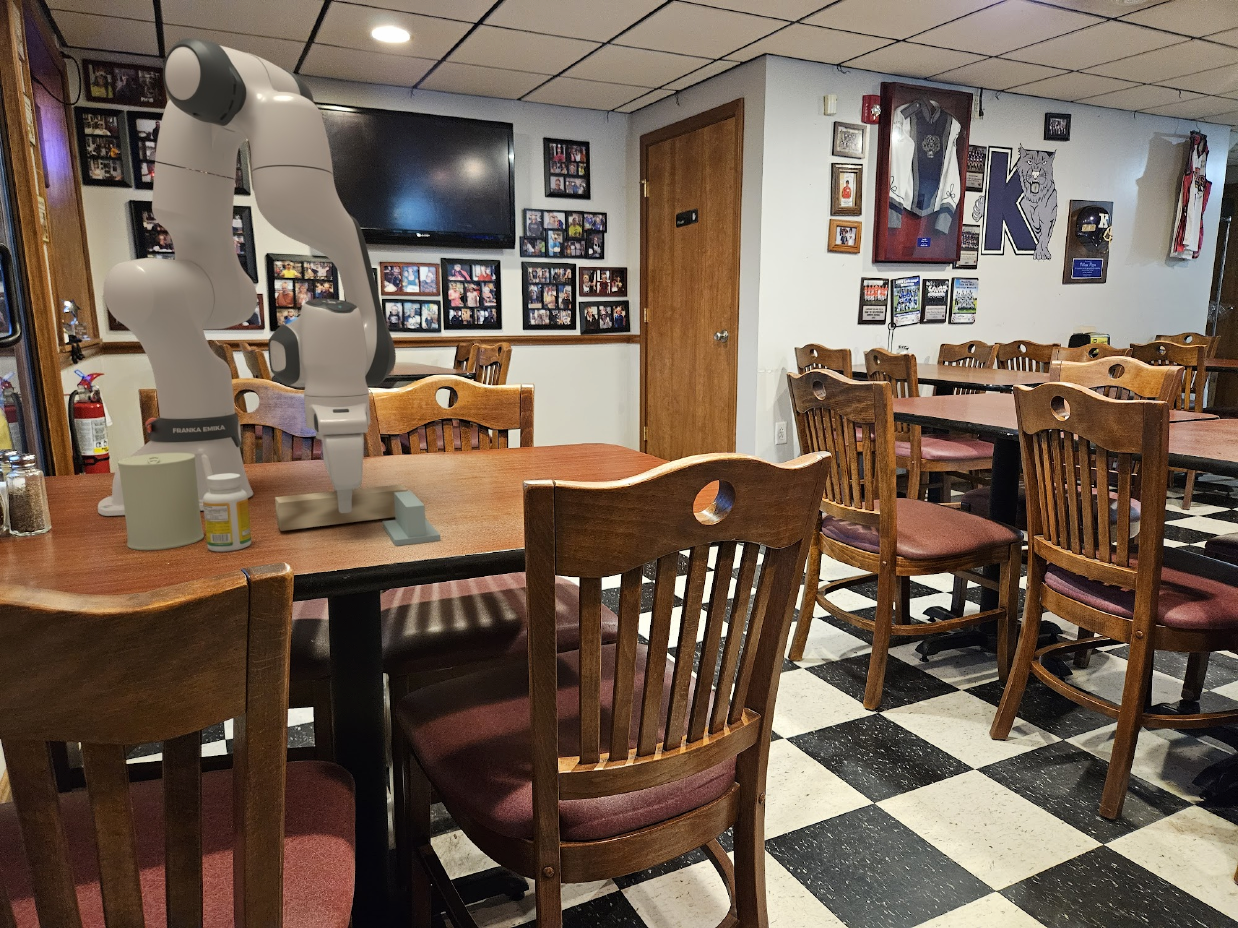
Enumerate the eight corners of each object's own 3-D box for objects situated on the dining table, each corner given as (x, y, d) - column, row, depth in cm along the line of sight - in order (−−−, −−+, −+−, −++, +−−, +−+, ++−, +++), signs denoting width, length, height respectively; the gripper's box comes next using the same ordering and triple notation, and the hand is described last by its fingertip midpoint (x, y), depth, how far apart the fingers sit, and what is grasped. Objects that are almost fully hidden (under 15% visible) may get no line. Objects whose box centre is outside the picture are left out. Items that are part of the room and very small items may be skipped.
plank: (281, 530, 113) (278, 502, 112) (277, 524, 116) (275, 497, 116) (408, 515, 122) (407, 489, 121) (401, 509, 125) (400, 484, 124)
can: (122, 554, 105) (110, 463, 102) (132, 536, 113) (122, 452, 111) (201, 545, 108) (192, 457, 106) (206, 529, 117) (197, 447, 114)
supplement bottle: (215, 555, 104) (207, 482, 102) (202, 546, 108) (194, 476, 106) (258, 546, 108) (251, 476, 106) (244, 538, 111) (237, 470, 110)
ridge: (395, 545, 107) (393, 509, 106) (382, 526, 117) (380, 493, 116) (440, 540, 110) (438, 504, 109) (424, 522, 120) (422, 489, 119)
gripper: (310, 406, 124) (316, 494, 127) (319, 424, 106) (325, 526, 108) (353, 405, 127) (358, 491, 129) (369, 422, 108) (374, 521, 111)
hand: (343, 507), depth 119 cm, fingers closed on plank, 4 cm apart
